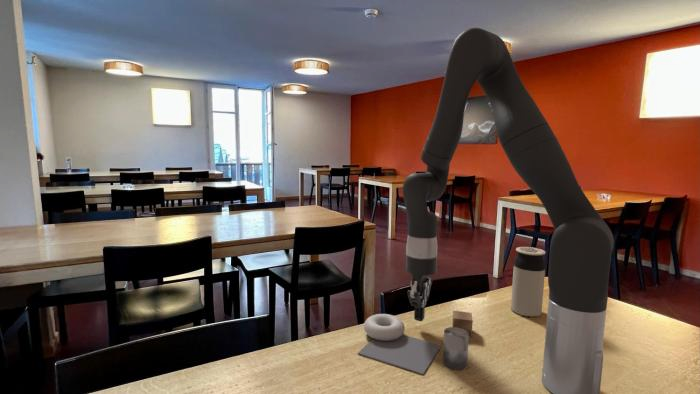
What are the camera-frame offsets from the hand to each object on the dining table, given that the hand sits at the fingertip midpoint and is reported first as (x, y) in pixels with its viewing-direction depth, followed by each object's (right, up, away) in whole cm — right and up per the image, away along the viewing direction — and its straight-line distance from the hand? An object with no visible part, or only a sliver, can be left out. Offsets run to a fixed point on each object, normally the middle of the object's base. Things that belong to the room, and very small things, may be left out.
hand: (419, 319), depth 94 cm
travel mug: (+33, -2, +12) cm, 35 cm away
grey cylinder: (+5, -5, -15) cm, 16 cm away
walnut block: (+10, -3, -1) cm, 11 cm away
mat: (-6, -4, -10) cm, 12 cm away
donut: (-4, -1, -4) cm, 6 cm away
